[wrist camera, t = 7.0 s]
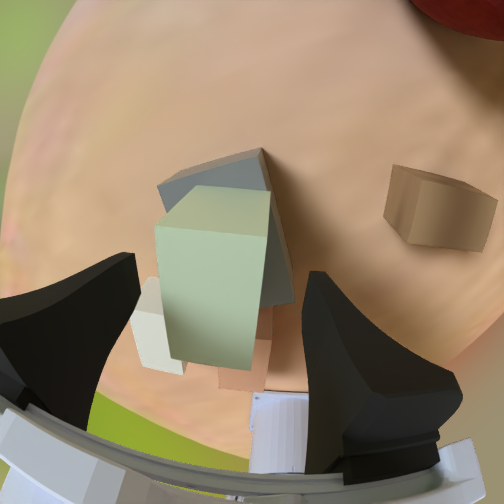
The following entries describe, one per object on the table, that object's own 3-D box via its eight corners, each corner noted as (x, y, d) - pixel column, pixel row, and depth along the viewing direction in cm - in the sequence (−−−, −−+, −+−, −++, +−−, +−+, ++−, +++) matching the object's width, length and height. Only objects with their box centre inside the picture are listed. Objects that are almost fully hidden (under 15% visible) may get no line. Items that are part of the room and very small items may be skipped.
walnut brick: (463, 181, 14) (498, 200, 11) (452, 226, 16) (482, 252, 12) (392, 164, 15) (422, 179, 11) (382, 215, 16) (406, 243, 13)
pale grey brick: (195, 339, 23) (183, 375, 19) (158, 332, 23) (142, 366, 19) (192, 281, 20) (176, 317, 16) (149, 275, 20) (127, 308, 16)
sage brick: (258, 299, 15) (250, 371, 11) (197, 291, 15) (170, 358, 11) (270, 191, 12) (267, 237, 8) (196, 185, 13) (154, 226, 8)
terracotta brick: (266, 355, 23) (263, 393, 19) (226, 351, 23) (219, 388, 19) (273, 301, 20) (272, 340, 16) (226, 296, 20) (216, 334, 17)
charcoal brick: (292, 265, 19) (295, 302, 15) (221, 279, 20) (210, 315, 16) (261, 146, 15) (257, 156, 12) (182, 169, 16) (156, 186, 13)
